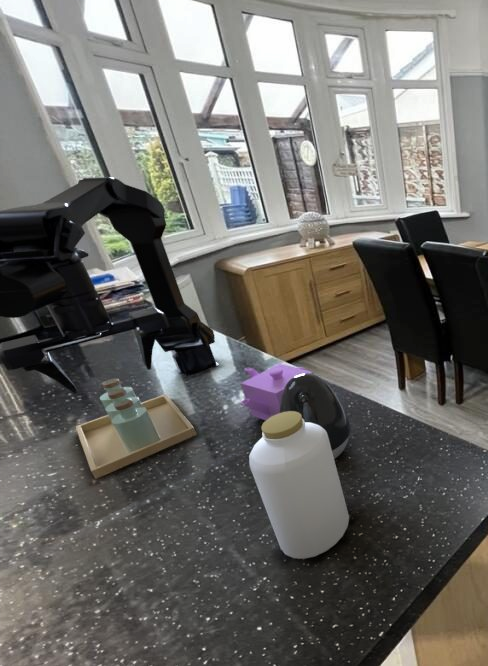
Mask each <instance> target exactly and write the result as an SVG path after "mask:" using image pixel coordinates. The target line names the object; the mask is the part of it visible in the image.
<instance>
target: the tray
mask: <svg viewBox="0 0 488 666" xmlns="http://www.w3.org/2000/svg"><path fill="white" fill-rule="evenodd" d="M141 404H142V406H143V408H146V409H147V412H148V414H149V416H150V418H151V420H152V422H153V424H154V426H155V428H156V430H157V432H158V435H159V437H160V439H161V440H160V441H157V442H155V443H153V444H150V445H148V446H145V447H143V448H141V449H138V450H136V451H134V452H131V453H129V454H128V452H127V450H126V448H125V447H124V445H123V443H122V441H121V439H120V437H119V435H118V433H117V431H116V430H115V428H114V426H113V424H112V422H111V420H110V418H109V416H108V414H107V415H104V416H100V417H98V418H96V419H93V420H90V421H87V422H84V423H81V424H79V425H76V426H75V429H76V432H77V435H78V438H79V441H80V444H81V446H82V449H83V452H84V455H85V457H86V462H87V463H88V466H89V468H90V471H91V473H92V475H93V477H94V478H95V479H99V478H101V477H103V476H106V475H109V474H110V473H112V472H114V471H117V470H119V469H122V468H124V467H127V466H128V465H131V464H133V463H135V462H138V461H139V460H142V459H145V458H147V457H149V456H152V455H153V454H156V453H158V452H160V451H163V450H165V449H167V448H169V447H172V446H174V445H176V444H179V443H181V442H183V441H186V440H188V439H190V438H193V437H195V436H197V435H198V433H197V432H196V429H195V427H194V426H193V425H192V423H191V422H190V421H189V420H188V418H187V417H186V416H185V414H183V412H182V411H181V410H180V409H179V407H178V406H177V405H176V403H175V402H174V401H173V400H172V398H170V397H169V395H168V394H167V393H164V394H162V395H159V396H157V397H153V398H150V399H148V400H144V401H143V402H141Z"/></svg>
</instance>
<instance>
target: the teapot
mask: <svg viewBox="0 0 488 666" xmlns="http://www.w3.org/2000/svg"><path fill="white" fill-rule="evenodd" d="M243 370H244V371H246V373H247V374H248V375H249V376H250V378H248V379H247V380H245V381H243V382H241V383H240V386H241V388H242V391H243V394H244V397H245V398H244V399H243V400H242V401H241V402H240V405H242V406H244V407H246V408H249V411H250V414H251V416H252V417H254V418H257V419H260V420H264V421H266V420H267V419H269V418H270V417H272V416H274V415H276V414H279V410H280V401H281V396H282V393H283V390H284V388H285V386H286V384H287V382H288V381H289V380H290V379H291V378H293V377H294V376H296V375H299V374H303V373H310V374H314V375H315V373H314V372H313V371H310V370H307V368H305V367H302V366H297V367H295V366H291V365H286V364H284V363H283V364H282V363H278V364H275V365H274V366H272V367H269V368H268V369H266V370H264V371H262V372H260V373H259V372H258V371H257V370H255V368H253V367H249V366H247V367H244V368H243Z"/></svg>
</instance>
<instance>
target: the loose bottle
mask: <svg viewBox="0 0 488 666" xmlns="http://www.w3.org/2000/svg"><path fill="white" fill-rule="evenodd" d="M133 404H134V403H133V401H132V399H125V400H121V401H119V402H117V403H115V404H114V407H115V409H116V410H117V411H118V413H119V414H118V415H116V416H115V417H114V418H113V419H112V421H111V422H112V424H113V426H114V428H115V430H116V431H117V433H118V435H119V437H120V439H121V441H122V443H123V445H124V447H125V448H126V450H127V452H128V454H129V453H131V452H134V451H136V450H138V449H141V448H143V447H145V446H148V445H150V444H153V443H155V442H157V441H160V440H161V439H160V437H159V435H158V432H157V430H156V428H155V426H154V424H153V422H152V420H151V418H150V416H149V414H148V412H147V409H146V408H142V407H140V408H135V407H134V405H133Z"/></svg>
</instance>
